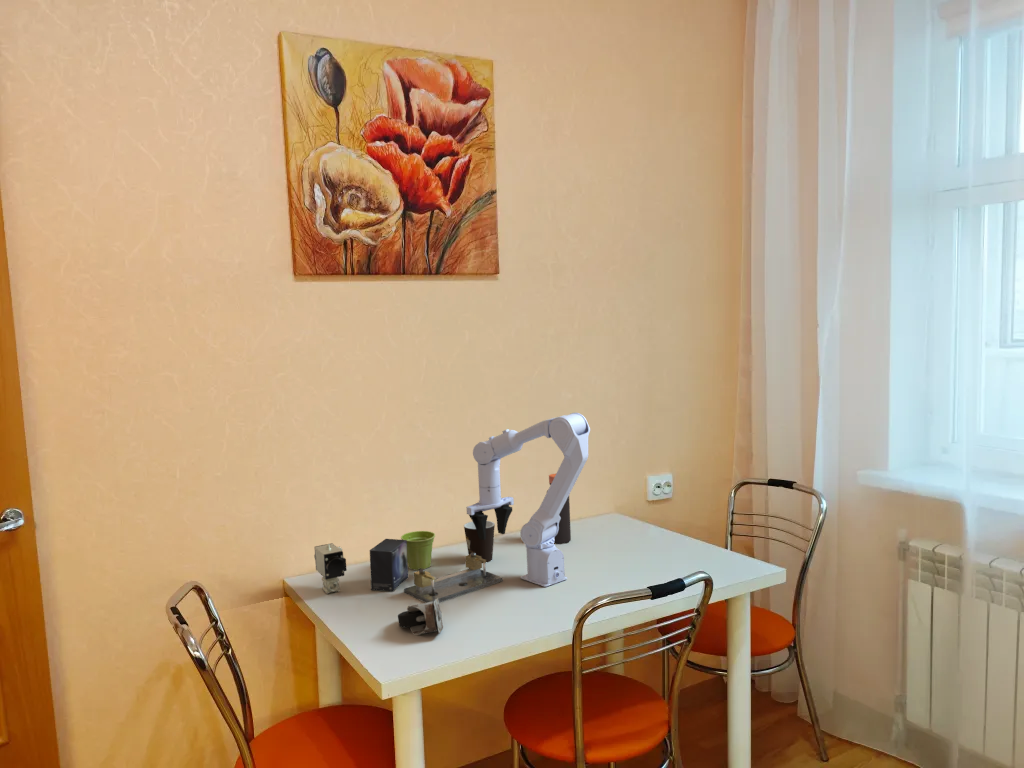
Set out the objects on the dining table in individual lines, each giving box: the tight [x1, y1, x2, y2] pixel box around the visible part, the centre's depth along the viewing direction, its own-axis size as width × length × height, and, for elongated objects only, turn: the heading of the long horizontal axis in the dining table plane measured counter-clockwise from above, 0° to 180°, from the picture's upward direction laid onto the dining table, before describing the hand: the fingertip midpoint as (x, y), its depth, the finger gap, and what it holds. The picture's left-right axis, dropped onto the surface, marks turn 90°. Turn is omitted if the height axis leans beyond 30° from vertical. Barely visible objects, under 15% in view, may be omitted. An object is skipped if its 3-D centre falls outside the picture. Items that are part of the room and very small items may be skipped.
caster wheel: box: [397, 597, 444, 636], centre depth 162 cm, size 7×11×10 cm
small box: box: [369, 538, 409, 592], centre depth 191 cm, size 11×6×10 cm, turn 167°
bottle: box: [546, 473, 572, 545], centre depth 221 cm, size 7×7×20 cm
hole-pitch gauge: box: [403, 568, 504, 603], centre depth 187 cm, size 12×22×6 cm, turn 131°
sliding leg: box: [464, 552, 487, 576], centre depth 192 cm, size 7×3×5 cm, turn 41°
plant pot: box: [400, 530, 436, 571], centre depth 204 cm, size 9×9×9 cm
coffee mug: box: [463, 520, 496, 564], centre depth 209 cm, size 12×9×10 cm
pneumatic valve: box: [313, 543, 348, 595], centre depth 188 cm, size 6×12×12 cm, turn 30°
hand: (492, 536), depth 197 cm, fingers open, 6 cm apart
